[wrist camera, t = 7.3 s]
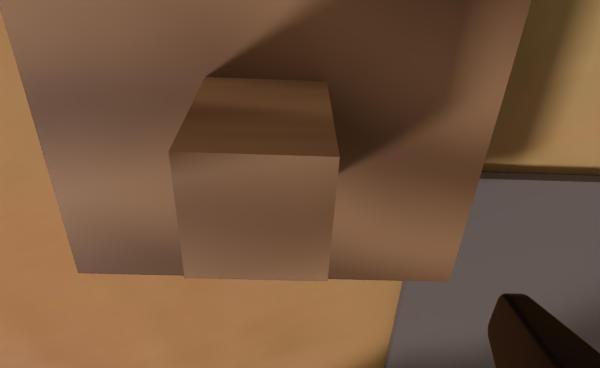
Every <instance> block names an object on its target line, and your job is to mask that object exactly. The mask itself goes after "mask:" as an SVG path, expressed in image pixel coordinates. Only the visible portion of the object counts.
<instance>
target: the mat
mask: <svg viewBox="0 0 600 368" xmlns="http://www.w3.org/2000/svg"><path fill="white" fill-rule="evenodd" d="M504 293H517V294H525V295H527V296H529V297H530V298H532V299H533V300H534V301H535V302H537V303H538V304H539V305H540V306H542V307H543V308H544V309H545V310H547V311H548V312H549V313H550V314H552V315H553V316H554V317H555V318H557V319H558V320H559V321H560V322H562V323H563V324H564V325H565V326H567V327H568V328H569V329H571V330H572V331H573V332H574V333H576V334H577V335H578V336H579V337H581V338H582V339H583V340H584V341H586V342H587V343H588V344H589V345H591V346H592V347H593V348H594V349H596V350H597V351H598V352H599V353H600V176H598V175H565V174H533V173H500V172H481V175H480V179H479V182H478V186H477V189H476V192H475V196H474V199H473V203H472V206H471V210H470V213H469V216H468V220H467V223H466V227H465V230H464V233H463V237H462V240H461V244H460V247H459V250H458V254H457V257H456V261H455V264H454V267H453V271H452V274H451V278H450V281H449V282H438V281H403V284H402V288H401V293H400V297H399V302H398V306H397V311H396V316H395V320H394V325H393V329H392V334H391V338H390V343H389V347H388V352H387V357H386V361H385V366H384V367H385V368H496V367H495V363H494V359H493V355H492V351H491V347H490V343H489V339H488V324H489V321H490V318H491V315H492V313H493V310H494V308H495V305H496V303H497V300H498V298H499V296H500V295H502V294H504Z"/></svg>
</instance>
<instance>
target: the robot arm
mask: <svg viewBox="0 0 600 368" xmlns="http://www.w3.org/2000/svg"><path fill="white" fill-rule="evenodd" d="M488 339H489V343H490V347H491V351H492V355H493V359H494V363H495V367H496V368H600V353H599V352H598V351H597V350H596V349H594V348H593V347H592V346H591V345H589V344H588V343H587V342H586V341H584V340H583V339H582V338H581V337H579V336H578V335H577V334H576V333H574V332H573V331H572V330H571V329H569V328H568V327H567V326H565V325H564V324H563V323H562V322H560V321H559V320H558V319H557V318H555V317H554V316H553V315H552V314H550V313H549V312H548V311H547V310H545V309H544V308H543V307H542V306H540V305H539V304H538V303H537V302H535V301H534V300H533V299H532V298H530V297H529V296H527V295H525V294H517V293H504V294H502V295H500V296H499V298H498V300H497V303H496V305H495V308H494V310H493V313H492V315H491V318H490V321H489V324H488Z"/></svg>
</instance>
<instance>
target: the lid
mask: <svg viewBox="0 0 600 368" xmlns="http://www.w3.org/2000/svg"><path fill="white" fill-rule="evenodd" d="M531 2H532V0H0V8H1V12H2V15H3V19H4V22H5V25H6V29H7V32H8V36H9V39H10V42H11V46H12V49H13V53H14V56H15V59H16V63H17V66H18V70H19V73H20V77H21V80H22V83H23V87H24V90H25V94H26V97H27V100H28V104H29V107H30V111H31V114H32V117H33V121H34V124H35V128H36V131H37V134H38V138H39V141H40V145H41V148H42V151H43V155H44V158H45V162H46V165H47V168H48V172H49V175H50V179H51V182H52V185H53V189H54V192H55V196H56V199H57V203H58V206H59V209H60V213H61V216H62V220H63V223H64V226H65V230H66V233H67V237H68V240H69V243H70V247H71V250H72V254H73V257H74V260H75V264H76V267H77V271H78V273H97V274H140V275H183V276H184V278H205V279H248V280H291V281H328V279H353V280H395V281H438V282H449V281H450V278H451V274H452V271H453V267H454V264H455V261H456V257H457V254H458V250H459V247H460V244H461V240H462V237H463V233H464V230H465V227H466V223H467V220H468V216H469V213H470V210H471V206H472V203H473V199H474V196H475V192H476V189H477V186H478V182H479V179H480V175H481V172H482V169H483V165H484V162H485V158H486V155H487V152H488V148H489V145H490V141H491V138H492V135H493V131H494V128H495V124H496V121H497V118H498V114H499V111H500V107H501V104H502V101H503V97H504V94H505V90H506V87H507V84H508V80H509V77H510V73H511V70H512V66H513V63H514V60H515V56H516V53H517V49H518V46H519V43H520V39H521V36H522V32H523V29H524V26H525V22H526V19H527V15H528V12H529V9H530V5H531Z"/></svg>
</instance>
